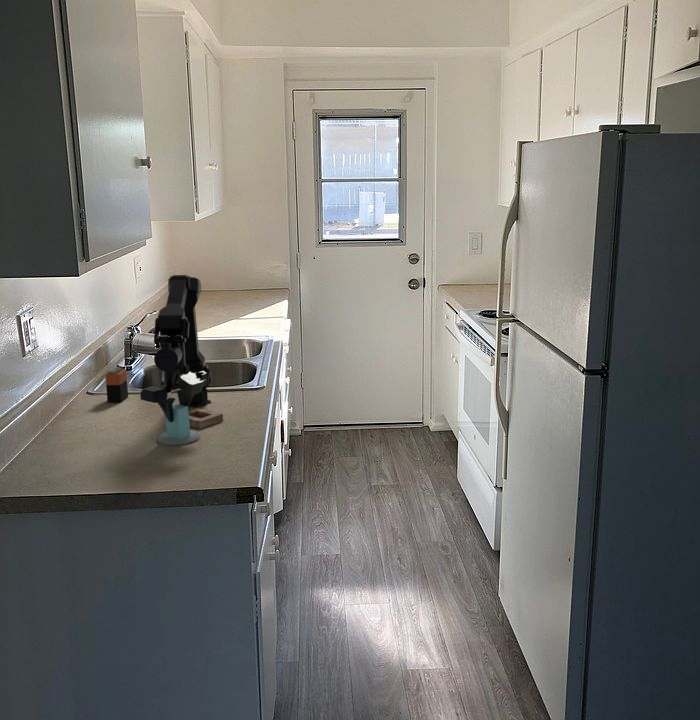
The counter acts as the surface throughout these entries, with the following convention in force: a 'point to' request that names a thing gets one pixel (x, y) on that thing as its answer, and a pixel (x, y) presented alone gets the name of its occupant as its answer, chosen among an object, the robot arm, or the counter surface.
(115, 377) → the battery
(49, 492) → the counter surface
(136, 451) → the counter surface
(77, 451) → the counter surface
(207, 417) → the brown flat piece
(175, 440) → the coaster
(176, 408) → the plug
